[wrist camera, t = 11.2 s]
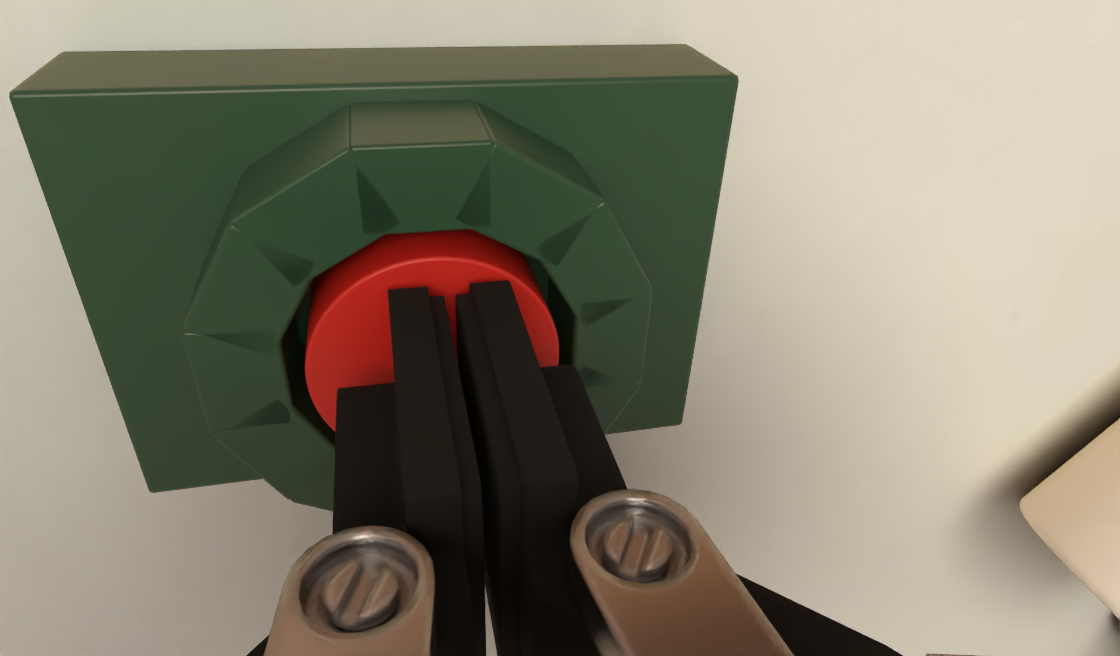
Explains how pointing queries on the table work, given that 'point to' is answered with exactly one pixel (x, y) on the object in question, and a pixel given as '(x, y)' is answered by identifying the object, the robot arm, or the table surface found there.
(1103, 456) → the mug
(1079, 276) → the table surface
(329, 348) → the button
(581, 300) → the button box
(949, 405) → the table surface
